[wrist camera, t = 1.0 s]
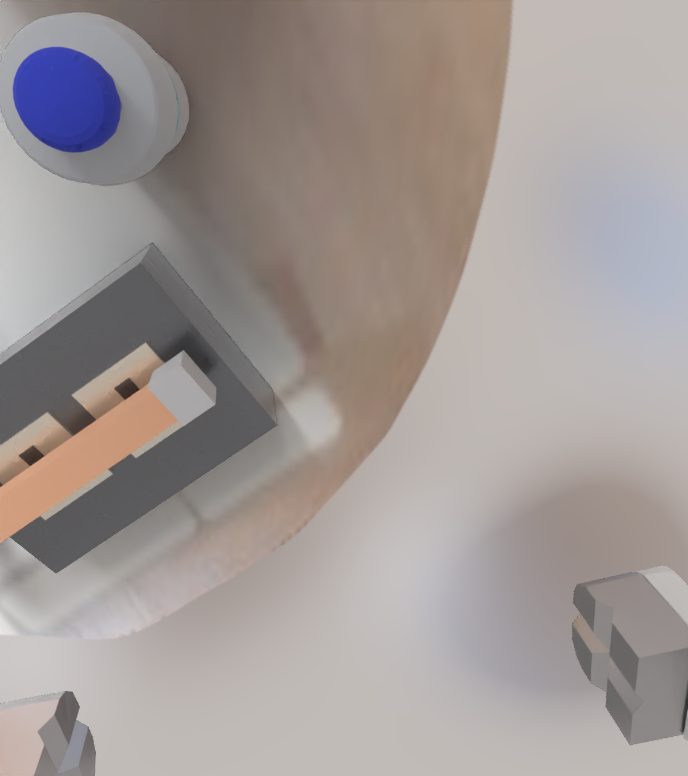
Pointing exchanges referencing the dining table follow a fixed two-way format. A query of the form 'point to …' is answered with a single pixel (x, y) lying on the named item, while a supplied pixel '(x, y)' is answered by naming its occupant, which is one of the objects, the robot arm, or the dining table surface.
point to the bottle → (90, 98)
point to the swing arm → (107, 441)
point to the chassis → (110, 388)
